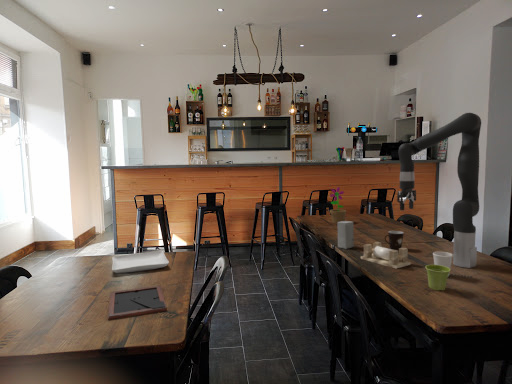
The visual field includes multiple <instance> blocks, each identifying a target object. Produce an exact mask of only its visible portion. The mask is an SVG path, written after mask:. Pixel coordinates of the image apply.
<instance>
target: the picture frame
mask: <svg viewBox="0 0 512 384" xmlns="http://www.w3.org/2000/svg"><path fill="white" fill-rule="evenodd" d="M109 295H110V296H109V303H108V304H109V306H108V314H107V315H108V316H107V317H108V318H107V320H108V321H109V320H116V319H123V318H129V317H135V316H136V317H137V316H140V315H148V314H153V313H154V314H155V313H160V312H167V311H168V307H167V303H166V301H165V296H164V293H163V291H162V286H161V285H153V286H146V287H138V288H130V289H122V290H116V291H111V292H110V294H109Z"/></svg>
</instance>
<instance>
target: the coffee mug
mask: <svg viewBox="0 0 512 384" xmlns="http://www.w3.org/2000/svg"><path fill="white" fill-rule="evenodd" d="M387 237H388V241H387V240H386V239H387ZM403 239H404V231H400V230H389V231H388V232H387V235H385V236H384V241H385V243H387V245H389V249H392V250H397V251H399V248H403V247H402V246H403Z"/></svg>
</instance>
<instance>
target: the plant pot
mask: <svg viewBox="0 0 512 384" xmlns="http://www.w3.org/2000/svg"><path fill="white" fill-rule="evenodd" d="M425 269H426V273H427V282H428V288H430V289H431V290H432V291H433V290H434V291H445V290H446V286H447V282H448V281H447V280H448V277H449V276H448V274H449V275H450V273H451V271H452V270H451V268H448V267H445V266H441V265H434V264H426V265H425ZM449 272H450V273H449Z"/></svg>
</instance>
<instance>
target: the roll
mask: <svg viewBox="0 0 512 384" xmlns="http://www.w3.org/2000/svg"><path fill="white" fill-rule="evenodd" d="M391 250H392V249H390V248H387V247H383V246H381V247H379V246H376V247H375V248H373V247H372V254H374V256H375V257H377V258H381V259H385V260H388V261H389V251H391ZM402 258H403V256H402V255H399V253H398V260H402Z"/></svg>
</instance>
